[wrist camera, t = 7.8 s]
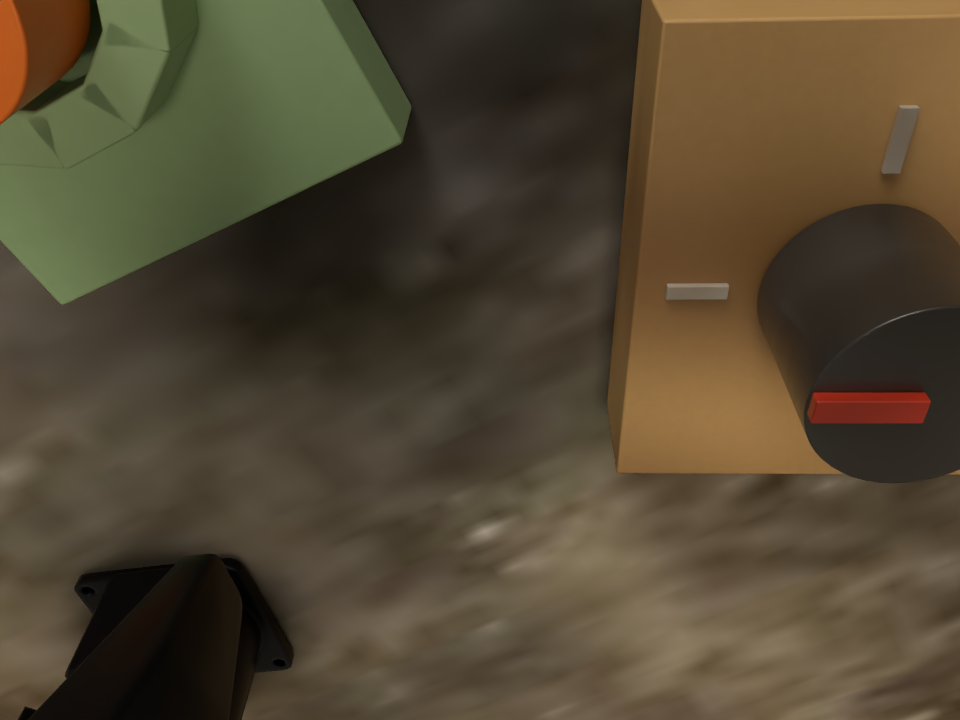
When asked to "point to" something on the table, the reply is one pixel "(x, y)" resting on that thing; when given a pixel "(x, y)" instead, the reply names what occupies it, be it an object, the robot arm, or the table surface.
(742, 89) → the board
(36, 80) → the orange short cylinder
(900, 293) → the lock dial
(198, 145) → the green flat block
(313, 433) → the table surface
